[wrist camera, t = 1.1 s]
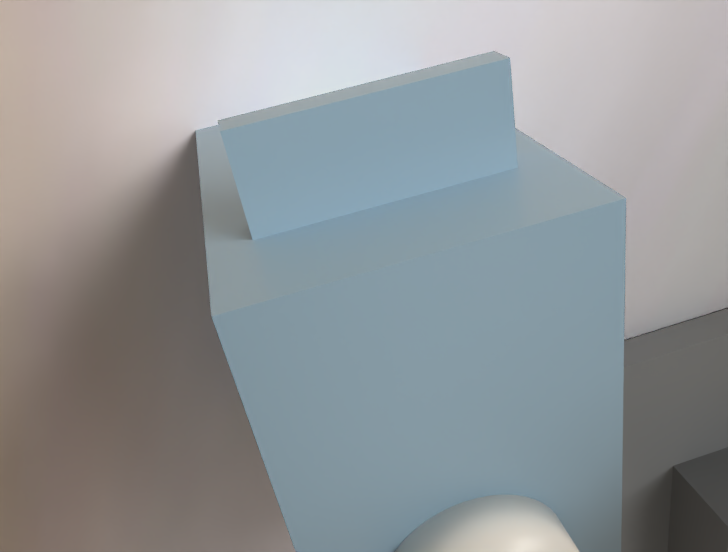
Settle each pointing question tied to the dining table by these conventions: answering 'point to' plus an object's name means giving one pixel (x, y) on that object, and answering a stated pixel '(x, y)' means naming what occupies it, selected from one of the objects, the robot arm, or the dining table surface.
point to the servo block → (421, 317)
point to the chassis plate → (676, 438)
